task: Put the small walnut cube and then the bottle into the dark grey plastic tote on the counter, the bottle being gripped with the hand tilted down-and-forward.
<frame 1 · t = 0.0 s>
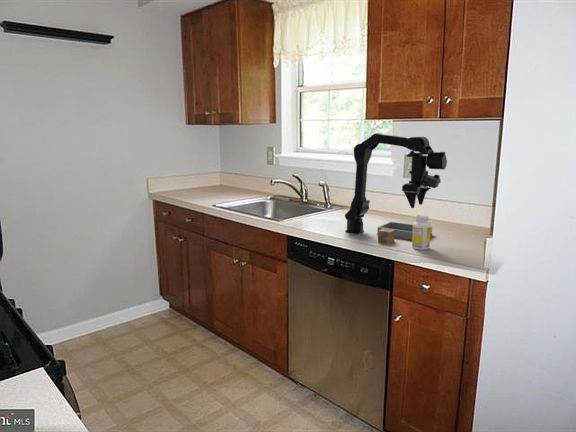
hand: (416, 206, 178), 15 cm above the worktop, tool pointing down, fingers open, 9 cm apart
supplement bottle: (420, 248, 170), on the worktop
walnut cube: (386, 241, 180), on the worktop
tote: (404, 234, 191), on the worktop
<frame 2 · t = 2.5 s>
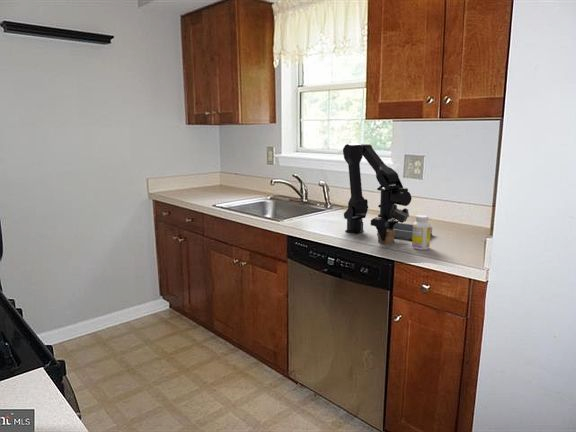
hand: (386, 239, 180), 1 cm above the worktop, tool pointing down, fingers closed on walnut cube, 5 cm apart
walnut cube: (386, 241, 180), on the worktop, touching gripper
everything else where it was.
when the fingers open (3 cm above the worktop, at t = 6.6 s): walnut cube drops 2 cm, resting on tote.
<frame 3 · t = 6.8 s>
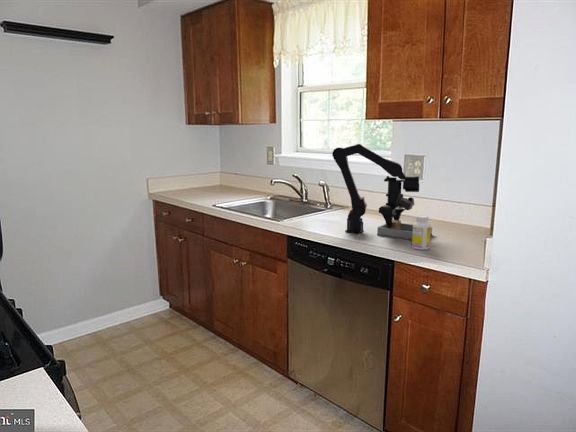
hand: (392, 226, 193), 3 cm above the worktop, tool pointing down, fingers open, 7 cm apart
walnut cube: (392, 231, 194), point 1 cm above the worktop, touching tote
everything else where it was.
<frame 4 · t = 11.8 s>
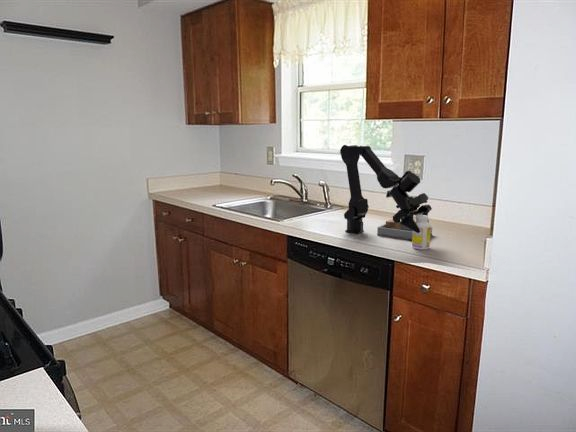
hand: (424, 231, 168), 7 cm above the worktop, tool tilted 45°, fingers closed on supplement bottle, 7 cm apart
supplement bottle: (420, 248, 170), on the worktop, touching gripper
everything else where it was.
when the fingers open (9 cm above the worktop, at t = 15.9 s): supplement bottle stays where it is, resting on tote.
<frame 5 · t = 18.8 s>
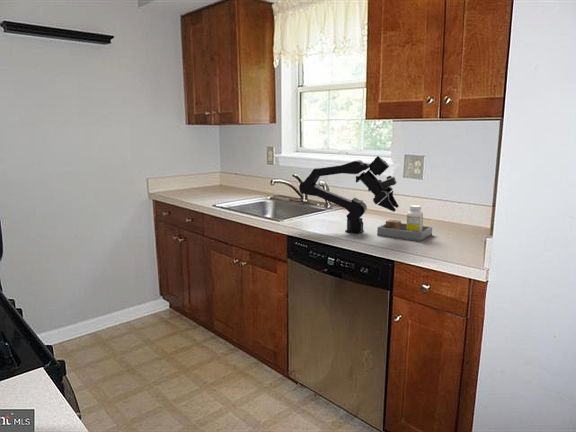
hand: (396, 209, 188), 12 cm above the worktop, tool tilted 45°, fingers open, 9 cm apart
supplement bottle: (414, 235, 188), resting on tote
everything else where it was.
at the end: walnut cube inside the target area on the tote (5.4 cm from its centre), point 0.6 cm above the tote's base; supplement bottle inside the target area on the tote (4.3 cm from its centre), point 0.4 cm above the tote's base; supplement bottle tilted 0° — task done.
